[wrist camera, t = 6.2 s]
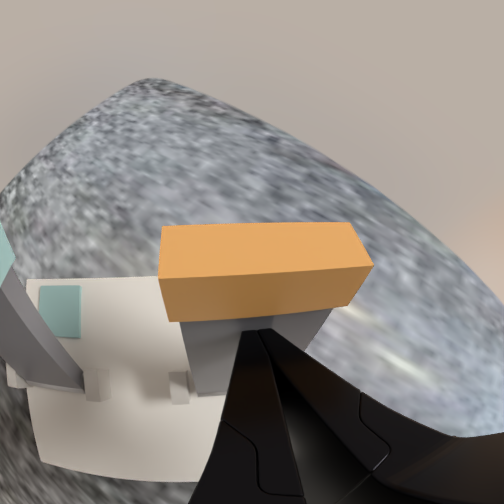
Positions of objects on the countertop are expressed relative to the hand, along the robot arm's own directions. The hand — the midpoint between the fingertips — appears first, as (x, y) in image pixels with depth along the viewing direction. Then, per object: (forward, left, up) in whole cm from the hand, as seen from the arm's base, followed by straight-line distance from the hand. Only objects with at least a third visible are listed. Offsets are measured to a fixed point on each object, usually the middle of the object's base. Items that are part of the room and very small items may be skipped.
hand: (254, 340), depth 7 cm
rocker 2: (-1, -1, -6) cm, 6 cm away
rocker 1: (-7, +7, -6) cm, 12 cm away
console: (-4, +3, -9) cm, 10 cm away
